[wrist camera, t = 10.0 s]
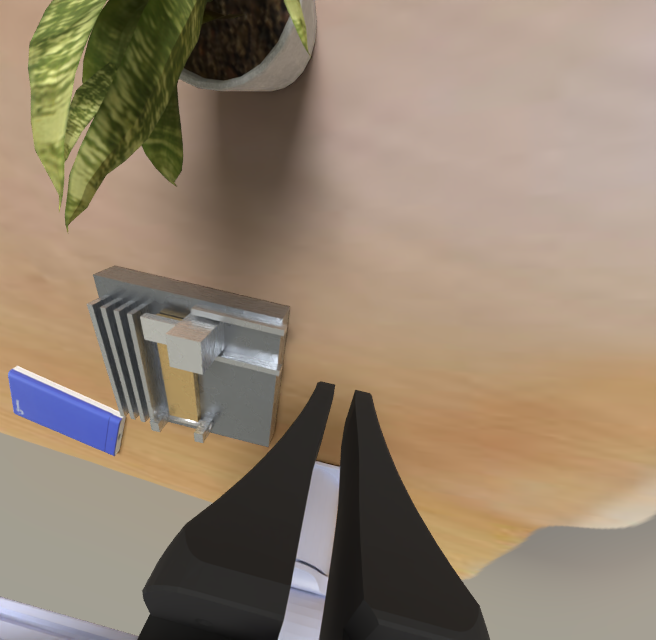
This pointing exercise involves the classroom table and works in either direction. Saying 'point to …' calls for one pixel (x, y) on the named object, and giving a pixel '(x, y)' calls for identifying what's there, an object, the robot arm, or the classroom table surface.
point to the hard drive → (65, 411)
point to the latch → (186, 339)
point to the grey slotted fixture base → (222, 375)
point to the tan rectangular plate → (180, 386)
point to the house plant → (149, 76)
